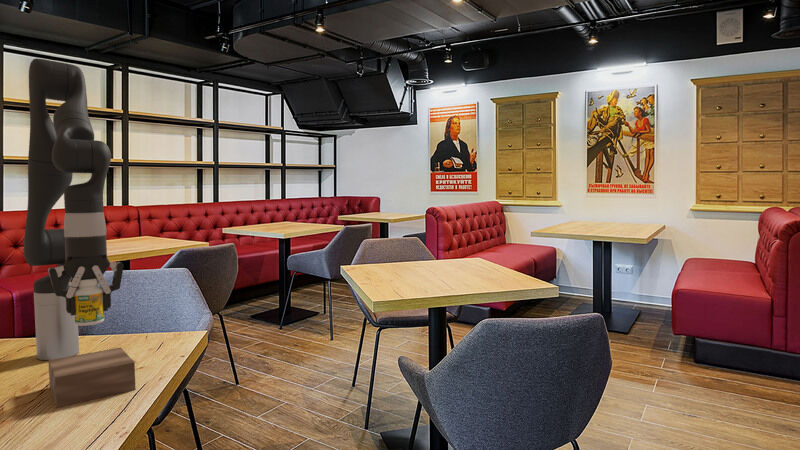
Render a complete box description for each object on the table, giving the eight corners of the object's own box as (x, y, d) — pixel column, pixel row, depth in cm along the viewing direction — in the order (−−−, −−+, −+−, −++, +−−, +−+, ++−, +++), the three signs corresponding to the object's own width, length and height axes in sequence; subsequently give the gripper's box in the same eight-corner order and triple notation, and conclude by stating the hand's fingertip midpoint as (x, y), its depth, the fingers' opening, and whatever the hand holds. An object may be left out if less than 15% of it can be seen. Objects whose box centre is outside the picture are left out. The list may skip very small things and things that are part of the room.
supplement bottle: (103, 318, 111) (101, 275, 111) (104, 323, 107) (103, 279, 106) (74, 322, 108) (72, 278, 108) (74, 327, 104) (72, 281, 103)
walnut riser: (49, 387, 109) (48, 360, 109) (121, 372, 118) (120, 347, 118) (56, 407, 98) (55, 377, 98) (135, 389, 107) (134, 362, 107)
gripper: (119, 231, 114) (122, 305, 115) (42, 235, 105) (46, 314, 106) (127, 233, 108) (130, 310, 109) (46, 237, 99) (50, 321, 100)
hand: (89, 312), depth 107 cm, fingers closed on supplement bottle, 5 cm apart
